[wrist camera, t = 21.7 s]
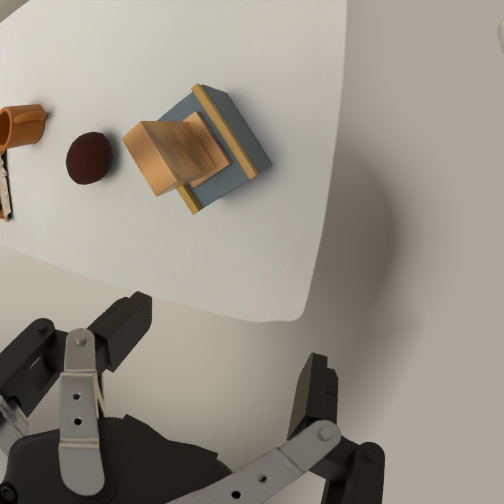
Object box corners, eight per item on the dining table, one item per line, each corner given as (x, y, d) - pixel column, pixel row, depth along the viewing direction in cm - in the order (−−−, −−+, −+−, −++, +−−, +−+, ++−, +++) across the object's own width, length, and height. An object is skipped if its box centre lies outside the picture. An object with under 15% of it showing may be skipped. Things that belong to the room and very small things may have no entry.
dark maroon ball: (82, 167, 44) (51, 175, 37) (99, 121, 40) (66, 124, 33) (109, 189, 44) (79, 201, 37) (129, 143, 40) (97, 148, 33)
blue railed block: (272, 165, 37) (257, 174, 29) (219, 197, 40) (191, 215, 32) (226, 92, 34) (198, 82, 26) (176, 129, 38) (139, 131, 29)
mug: (52, 141, 43) (18, 148, 35) (25, 144, 45) (-6, 151, 37) (54, 98, 39) (20, 100, 31) (26, 106, 41) (-5, 110, 33)
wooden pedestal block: (232, 163, 30) (192, 177, 21) (197, 186, 32) (149, 209, 23) (199, 111, 28) (148, 106, 19) (167, 137, 30) (110, 143, 21)
